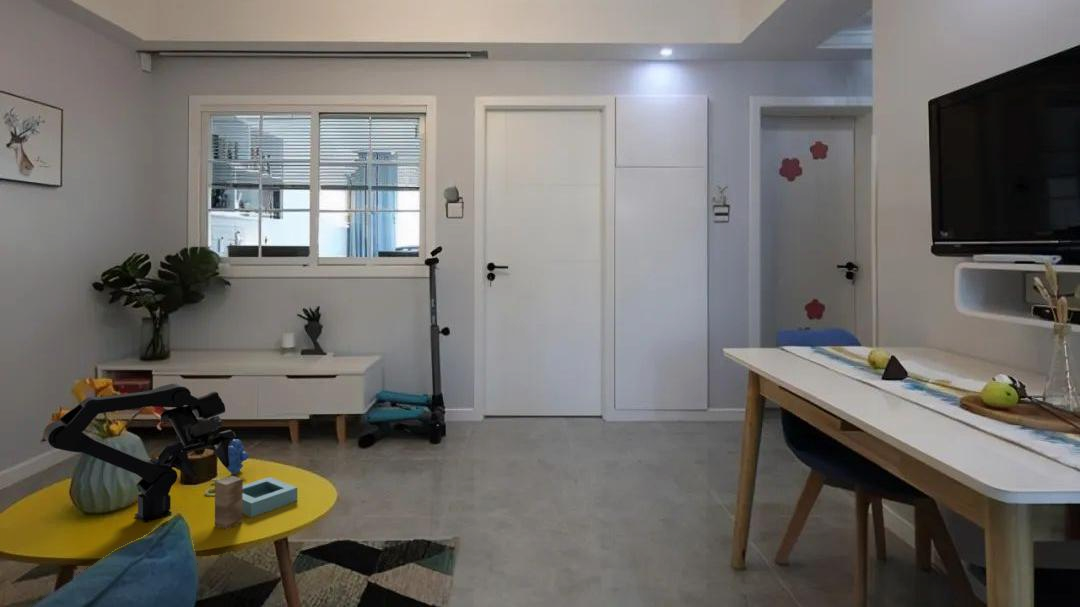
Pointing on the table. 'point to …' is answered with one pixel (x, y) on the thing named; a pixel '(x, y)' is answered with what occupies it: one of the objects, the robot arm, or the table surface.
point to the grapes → (236, 456)
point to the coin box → (266, 496)
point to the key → (212, 488)
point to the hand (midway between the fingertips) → (212, 472)
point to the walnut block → (228, 501)
